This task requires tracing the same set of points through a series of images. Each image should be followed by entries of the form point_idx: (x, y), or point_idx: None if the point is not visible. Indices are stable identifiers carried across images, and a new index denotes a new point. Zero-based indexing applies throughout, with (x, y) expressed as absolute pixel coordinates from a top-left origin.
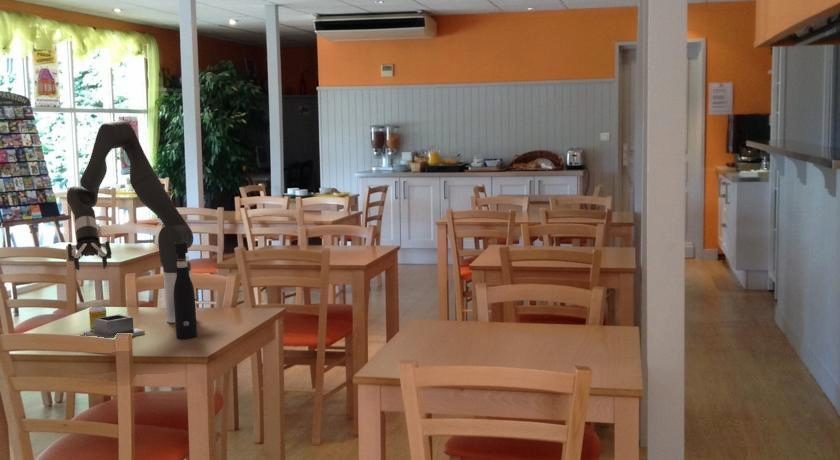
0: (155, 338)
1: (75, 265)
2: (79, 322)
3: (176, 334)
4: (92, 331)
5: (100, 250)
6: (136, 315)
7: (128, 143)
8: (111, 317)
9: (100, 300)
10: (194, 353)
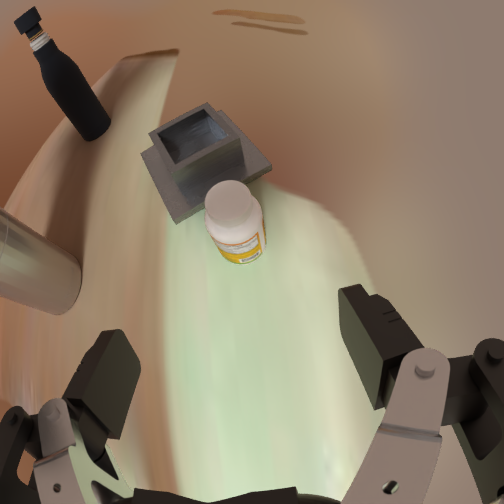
0: (136, 125)
1: (381, 299)
2: (321, 395)
3: (107, 118)
4: (251, 170)
5: (48, 457)
6: (147, 433)
7: None
8: (194, 157)
9: (214, 206)
10: (124, 65)
